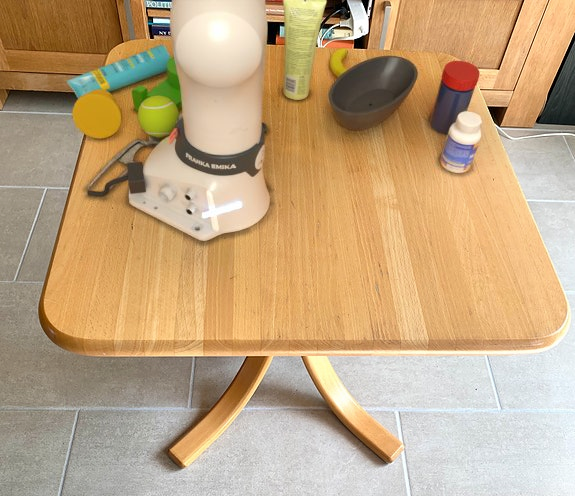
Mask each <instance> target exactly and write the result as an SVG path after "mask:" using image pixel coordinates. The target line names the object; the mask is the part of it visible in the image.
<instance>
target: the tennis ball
mask: <svg viewBox="0 0 575 496" xmlns="http://www.w3.org/2000/svg"><path fill="white" fill-rule="evenodd" d="M179 114H180V111H179V110H178V108H177V106H176V105H175V103H174V102H173V101H172V100H170V99H169V98H167V97H164V96H151V97H149V98H147V99H145V100H144V101H143V102H142V104H141V105H140V107H139V110H138V111H137V122H138V125H139V126H140V128H141V129H142V130H143V131H144V133H146V134H147V135H149V136H151V137H153V138H166V137H168V136H170V134H171V133H172V131H173V130H174V129H175V128H174V126H175V124H176V121H178V118H179Z"/></svg>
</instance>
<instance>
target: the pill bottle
mask: <svg viewBox="0 0 575 496" xmlns="http://www.w3.org/2000/svg"><path fill="white" fill-rule="evenodd" d="M482 122H483V118H482V117H481V116H480V115H479V114H477V112H474V111H468V110H467V111H465V112H461V113H460V114H459V115H458V117H457V119H456V122H455V123H453V124H452V125H451V127H450V129H449V132H448V134H446V135H447V136H446V138H445V139H446V140H445V143H444V145H443V149H442V152H441V156H440V164H441V166H442V168H444V169H445V170H447V171H449V172H451V173H455V174H462V173H465V172H467V171H469V170H470V169H471V166H472V164H473V161H474V158H475V156H476V153H477V150H478V147H479V145H480V142H481V139H482V130H481V126H482Z"/></svg>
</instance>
